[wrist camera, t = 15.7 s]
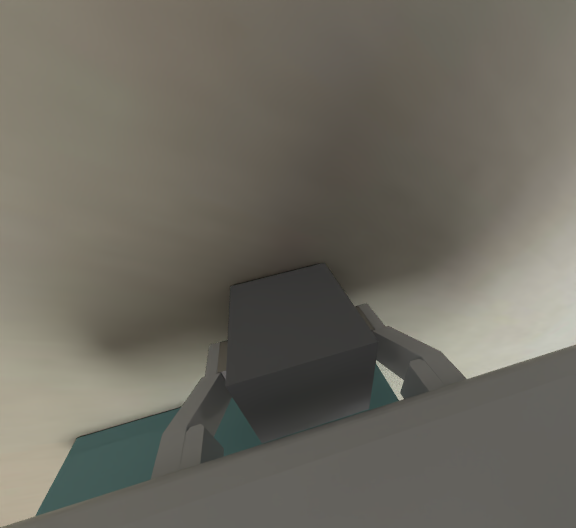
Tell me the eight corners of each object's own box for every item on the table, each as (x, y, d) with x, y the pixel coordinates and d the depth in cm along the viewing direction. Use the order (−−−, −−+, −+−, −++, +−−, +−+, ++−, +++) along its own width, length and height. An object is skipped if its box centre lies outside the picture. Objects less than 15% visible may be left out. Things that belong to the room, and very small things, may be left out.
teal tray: (368, 352, 17) (402, 406, 13) (360, 423, 24) (380, 469, 21) (76, 438, 14) (28, 528, 11) (168, 486, 22) (155, 549, 19)
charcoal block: (324, 262, 11) (378, 341, 7) (328, 325, 14) (369, 409, 9) (230, 286, 10) (225, 386, 6) (254, 346, 13) (262, 443, 9)
